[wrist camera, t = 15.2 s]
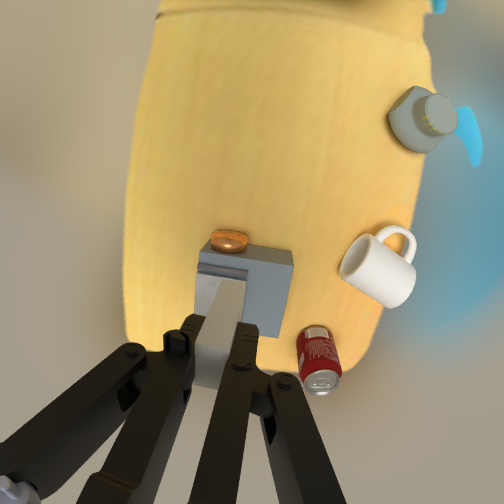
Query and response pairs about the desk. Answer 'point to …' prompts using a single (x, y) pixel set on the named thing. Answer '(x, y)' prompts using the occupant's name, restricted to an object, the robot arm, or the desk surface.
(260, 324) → the grey box with lid
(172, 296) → the desk surface
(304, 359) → the soda can
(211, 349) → the robot arm
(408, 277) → the mug
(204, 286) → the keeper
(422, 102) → the air freshener
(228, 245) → the pin
